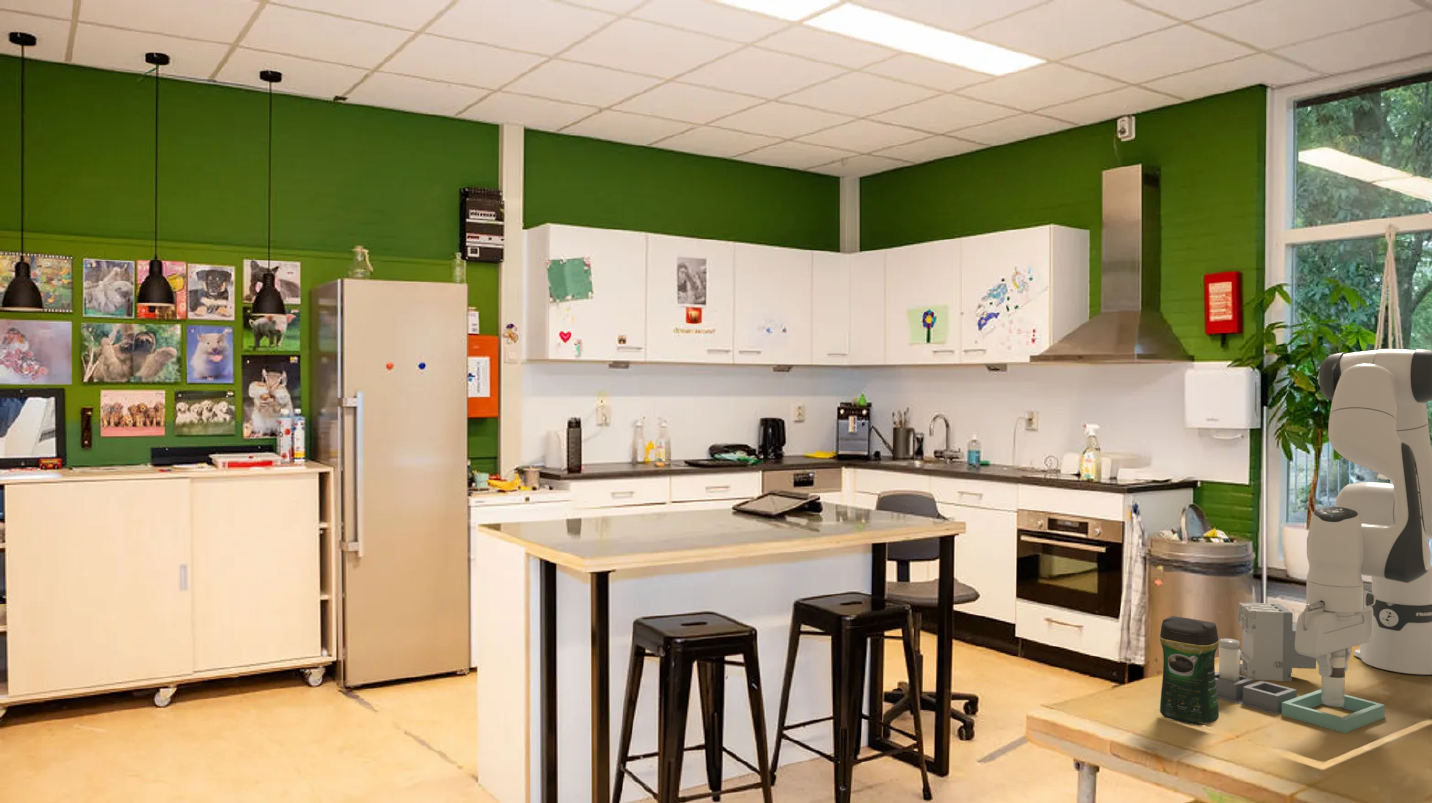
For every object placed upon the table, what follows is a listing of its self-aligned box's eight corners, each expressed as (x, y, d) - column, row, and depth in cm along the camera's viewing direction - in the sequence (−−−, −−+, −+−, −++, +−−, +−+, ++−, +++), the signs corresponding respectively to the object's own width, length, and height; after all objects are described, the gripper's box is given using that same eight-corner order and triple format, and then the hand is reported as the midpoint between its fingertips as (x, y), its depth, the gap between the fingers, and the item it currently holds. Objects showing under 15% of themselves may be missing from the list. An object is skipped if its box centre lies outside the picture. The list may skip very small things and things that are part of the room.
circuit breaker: (1324, 687, 206) (1325, 613, 205) (1247, 684, 209) (1248, 611, 208) (1311, 676, 213) (1312, 605, 213) (1237, 673, 216) (1237, 602, 216)
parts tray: (1322, 705, 195) (1322, 688, 195) (1384, 722, 186) (1384, 704, 186) (1281, 720, 188) (1281, 702, 188) (1344, 738, 178) (1345, 720, 178)
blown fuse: (1327, 699, 189) (1328, 644, 189) (1348, 704, 186) (1349, 649, 186) (1317, 702, 187) (1317, 647, 187) (1337, 708, 184) (1338, 652, 184)
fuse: (1225, 688, 203) (1226, 637, 203) (1243, 693, 200) (1243, 641, 199) (1214, 691, 201) (1215, 640, 201) (1232, 696, 198) (1233, 644, 198)
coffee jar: (1224, 719, 189) (1225, 619, 188) (1207, 730, 183) (1208, 627, 182) (1171, 707, 196) (1171, 610, 195) (1153, 717, 190) (1154, 618, 189)
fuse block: (1225, 688, 206) (1225, 669, 206) (1301, 709, 193) (1301, 689, 193) (1198, 697, 201) (1198, 677, 201) (1274, 719, 188) (1274, 697, 188)
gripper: (1321, 609, 178) (1320, 687, 178) (1380, 594, 189) (1379, 668, 189) (1285, 602, 183) (1284, 678, 184) (1344, 587, 194) (1343, 660, 195)
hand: (1333, 673), depth 186 cm, fingers closed on blown fuse, 4 cm apart
